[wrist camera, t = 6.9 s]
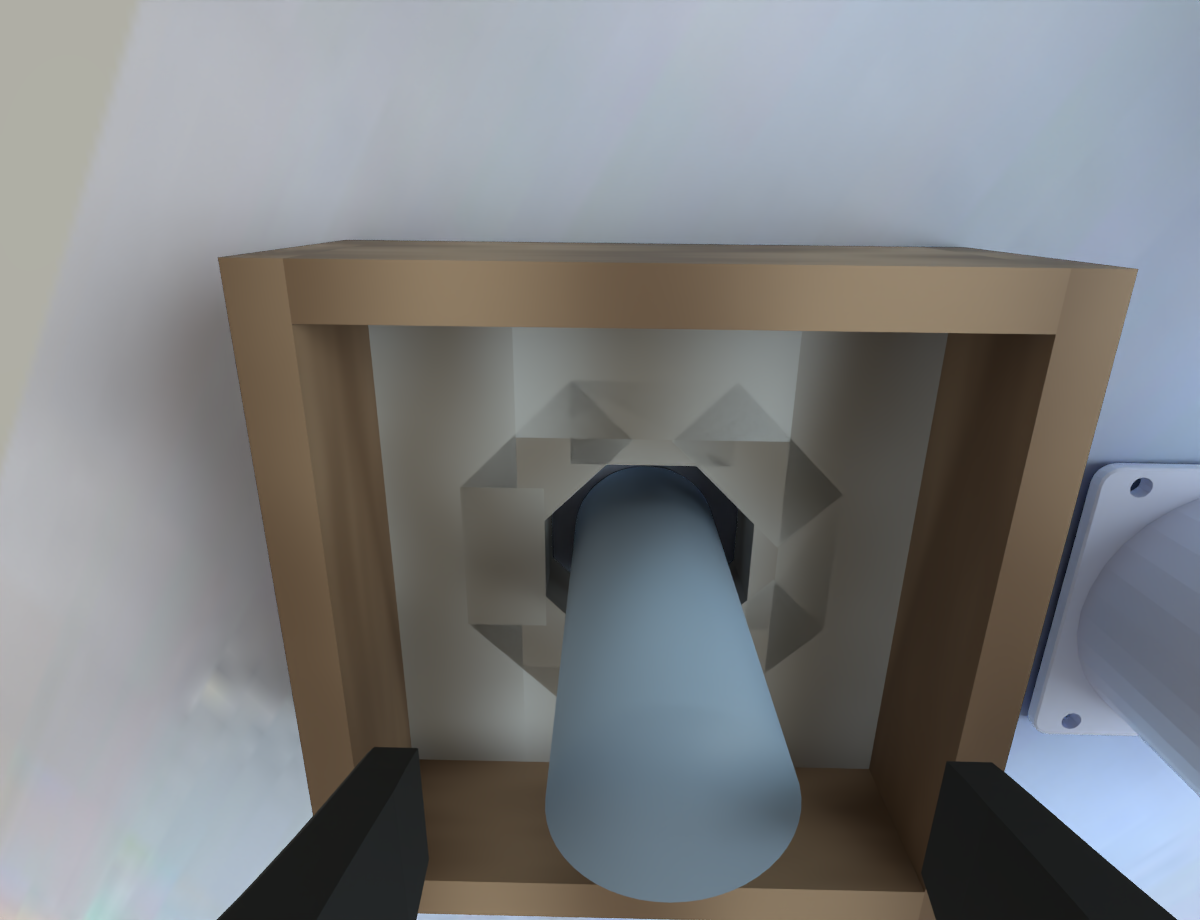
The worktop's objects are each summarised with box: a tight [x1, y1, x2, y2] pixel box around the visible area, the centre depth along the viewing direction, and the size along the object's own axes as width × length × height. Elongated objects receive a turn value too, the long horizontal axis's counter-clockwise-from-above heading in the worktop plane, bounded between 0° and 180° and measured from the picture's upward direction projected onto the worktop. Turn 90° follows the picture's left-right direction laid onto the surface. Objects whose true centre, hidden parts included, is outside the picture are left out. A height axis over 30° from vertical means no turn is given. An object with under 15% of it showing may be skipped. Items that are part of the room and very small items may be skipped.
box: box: [218, 240, 1138, 920], centre depth 16 cm, size 14×14×6 cm
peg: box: [545, 466, 801, 903], centre depth 14 cm, size 4×4×9 cm
